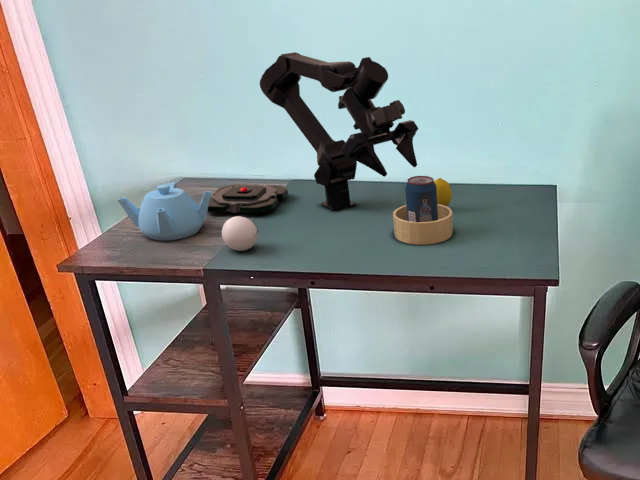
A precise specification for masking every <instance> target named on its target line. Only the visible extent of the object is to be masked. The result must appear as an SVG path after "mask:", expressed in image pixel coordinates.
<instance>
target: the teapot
mask: <svg viewBox="0 0 640 480" xmlns="http://www.w3.org/2000/svg"><path fill="white" fill-rule="evenodd" d="M155 188H156V189H154V190H151V191H148V192H147V193H146V194H144V196H143V199H142V202H141V204H140V207H139V208H138V207H136V205H135V204H133V202H132V201H130V200H129V199H128V198H127V197H119V198H118V199H117V202H118V203H119V205H120V206H121V208H122V209H123V211H125V213H126V215H127V216H128V217H129V219H130V220H131V222H132V223H133V225H134V226H135V227H137V228H138V229H139V230H140V232H141V233H142V234H143V235H145V236H146V237H148V238H149V239H151V240H155V241H175V240H176V241H177V240H181V239H185V238H189V237H191V236H194V235H196V234H197V233H198V232H199V231H200V229H201V228H202V226H203V224H204V222H205V221H206V218H207V213H208V211H207V209H208V205H209V201H210V197H212V191H210V190H209V191H207V190H206V191H203V195H202V197H201V201H200V203H199V205H198V203H197V202H196V201H195V200H194V199H193V198H192V197H191V195H189V194H188V193H187V192H186V191H185V190H184V189H182V188H179V187H177V184H176V182H166V183H165V184H159V185H157V186H156V187H155Z"/></svg>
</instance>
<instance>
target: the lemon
mask: <svg viewBox="0 0 640 480" xmlns="http://www.w3.org/2000/svg"><path fill="white" fill-rule="evenodd" d="M434 183H435V185H436V187H437V204H440V205H444V206H446V207H448V206H449V205H450V204H451V201H452V196H453V192H452V187H451V185H450V183H449V182H448V181H447V180H445V179H444V178H442V177H438V178H437V179H435V180H434Z"/></svg>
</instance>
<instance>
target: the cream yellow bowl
mask: <svg viewBox="0 0 640 480" xmlns="http://www.w3.org/2000/svg"><path fill="white" fill-rule="evenodd" d="M437 210H438V220H437V221H431V222H410V221H407V210H406V205H402V206H399V207H398V208H396V209H395V210H394V211H393V212H392V219H393V220H392V221H393V232H394V233H393V234H394V237H395V239H396V240H397V241H399V242H402V243H405V244H409V245H421V246H422V245H423V246H425V245H433V244H434V245H435V244H438V243H439V244H440V243H442V242H445V241H447V240H449V239H451V237H452V236H453V234H454V233H453V232H454V227H453V226H454V223H453V210H452V209H451V208H450V207H448V206H444V205H440V204H437Z"/></svg>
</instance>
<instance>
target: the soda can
mask: <svg viewBox="0 0 640 480" xmlns="http://www.w3.org/2000/svg"><path fill="white" fill-rule="evenodd" d="M406 181H407V183H406V184H405V187H404V191H405V206H406V210H407V221H410V222H431V221H437V220H438V210H437V187H436V185H435V183H434V181H435V180H434V178H433V177H431V176H428V175H415V176H410V177H409V178H407V180H406Z"/></svg>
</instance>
